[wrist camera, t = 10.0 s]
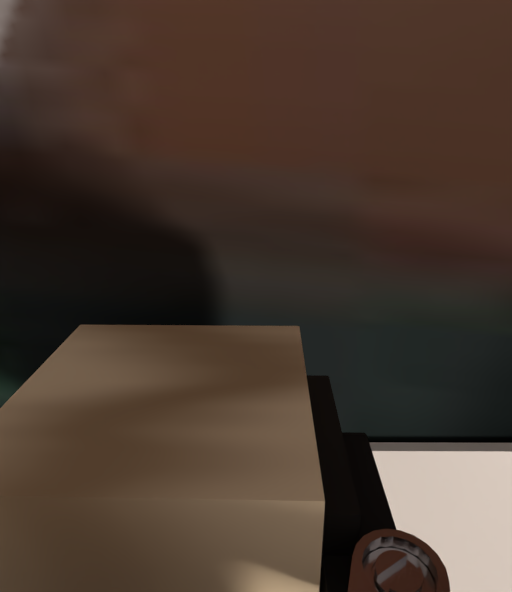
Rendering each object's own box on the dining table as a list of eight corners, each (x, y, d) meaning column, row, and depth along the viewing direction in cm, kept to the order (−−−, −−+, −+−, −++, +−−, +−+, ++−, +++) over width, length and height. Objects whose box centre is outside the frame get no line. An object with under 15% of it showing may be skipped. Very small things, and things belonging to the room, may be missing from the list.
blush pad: (558, 443, 14) (567, 451, 14) (502, 623, 18) (507, 634, 17) (278, 442, 14) (278, 450, 14) (276, 621, 18) (276, 632, 17)
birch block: (298, 325, 10) (325, 500, 5) (293, 496, 12) (309, 739, 7) (80, 324, 10) (-81, 493, 5) (107, 493, 12) (3, 730, 7)
